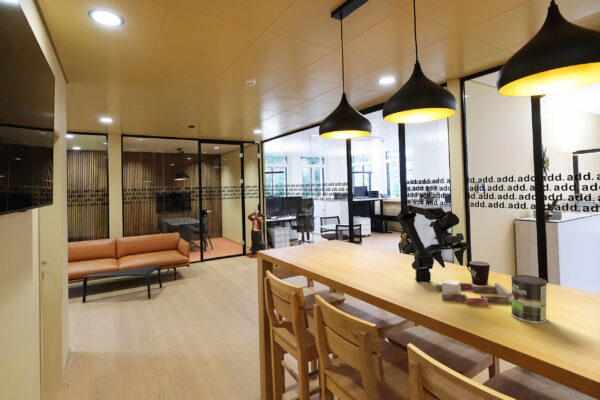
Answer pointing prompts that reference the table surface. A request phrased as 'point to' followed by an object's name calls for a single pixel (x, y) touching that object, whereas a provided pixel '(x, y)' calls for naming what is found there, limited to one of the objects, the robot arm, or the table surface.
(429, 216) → the robot arm
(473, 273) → the coffee mug
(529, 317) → the coffee can
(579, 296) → the table surface
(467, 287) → the trap lane
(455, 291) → the white cube
